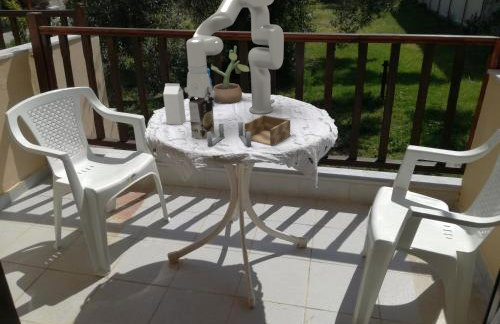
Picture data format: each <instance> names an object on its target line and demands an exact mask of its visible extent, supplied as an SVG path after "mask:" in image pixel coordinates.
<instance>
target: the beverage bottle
mask: <svg viewBox="0 0 500 324" xmlns="http://www.w3.org/2000/svg"><path fill="white" fill-rule="evenodd" d="M210 69H211V68H209V67H207V73H208V75H209V79H210V85H211V89H212V90H213V88H214V86H213V84H212V82H213V80H212V78H211V76H210V75H211V70H210ZM210 96H211V95H210ZM207 98H208V97H207ZM212 102H213V106H214V105H215V104H214V100H213V101H212Z"/></svg>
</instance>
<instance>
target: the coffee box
mask: <svg viewBox="0 0 500 324" xmlns="http://www.w3.org/2000/svg"><path fill="white" fill-rule="evenodd" d="M208 99H209V98H208ZM206 103H207V102H206V100H205V98H195V100H192V101H188V107H189V108H188V109H189V121H190V130H191V137H192V138H195V139H198V140H199V139H200V140H204V139H205V138H206V139H207V132H209V131H210V132H212V135H213V134H215V131H216V130H215V120H214V119H215V118H214V105H213V103H214V101H213V102H212V111H209V112H207V111H206Z"/></svg>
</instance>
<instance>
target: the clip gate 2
mask: <svg viewBox="0 0 500 324" xmlns="http://www.w3.org/2000/svg"><path fill="white" fill-rule="evenodd" d="M243 123H244V122H240V121H239V122H238V123H237V126H238V136H237V137H238V138H239V139H240V140H241V142H242V143H243V144H244V146H245V147H248V148H249V147H252V141H251V132H250V131H248V132H246V138H245V134H244V124H243Z"/></svg>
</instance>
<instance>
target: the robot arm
mask: <svg viewBox="0 0 500 324" xmlns="http://www.w3.org/2000/svg"><path fill="white" fill-rule="evenodd" d="M274 1H275V0H222V1H221V3H220V5H219V6H218V9H217V10H216V12H214V13H213V14H212V15H210V16H209V17H208V18H206V19H205V20H203V21H202V23H201V24H200V25H199V26H198V27H197V29H196V30H195V33H194V34H193V36H192V38H189V39H188V40H187V41H186V54H187V64H188V66H187V69H188V72H187V76H186V77H187V78H186V87H184V89H183V91H184V93H185V95H186V96H187V99H188V100H189V101H188V102H190V101H192V100H195V99H198V98H205V100H206V102H207V103H206V111H207V112H209V111H212V101H213V102H214V99H215V95H216V93H215V92H214V91H213V88H212V89H211V85H210V79H209V77H210V75H208V73H207V68H208V66H207V56H216V55H219V54H220V53H221V52H222V50H223V49H224V43H223V40H222V39H221V38H220V37H218V36H215V35H213V34H215V33H216V32H218V31H221V30H223V29H226V28H228V27H230V26H232V25H233V24H234V22H235V21H236V19H237V17H238V15H239V13H240V12H241V10H242V9H243V8H248V10H249V12H250V18H251V19H250V20H251V21H250V23H251V28H250V29H251V30H250V31H251V40H252V43H253V44H255V45H262V46H268V47H262V46H261V47H259V46H257V47H253V48H251V50H249V52H248V56H247V57H248V58H247V60H248V64H249V70H250V79H251V80H250V82H251V85H250V86H251V106H249V109H248V110H249V112H250V113H252V114H256V115H266V114H267V115H268V114H270V113H272V112H274V111H275V108H274V106H272V105H273V104H274V103H275V102H276V100H275V99H273V98H271V93H272V92H271V74H270V71H269V70H279V69H281V67H282V65H283V61H284V50H285V49H284V48H285V47H284V43H285V42H284V40H285V37H284V35H285V34H284V32H283V29H282V28H281V26H280V25H278V24H271V23H270V12H269V8H268V6H269V5H271V4H273V3H274ZM212 35H213V36H212ZM210 95H211V96H210ZM207 97H208V98H209V99H208V98H207Z"/></svg>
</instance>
